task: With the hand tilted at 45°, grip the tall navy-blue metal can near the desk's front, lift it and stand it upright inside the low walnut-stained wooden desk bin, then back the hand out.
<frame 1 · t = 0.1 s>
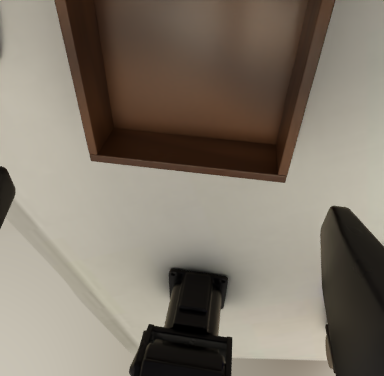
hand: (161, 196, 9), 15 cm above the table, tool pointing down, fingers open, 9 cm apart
desk bin: (196, 50, 21), on the table
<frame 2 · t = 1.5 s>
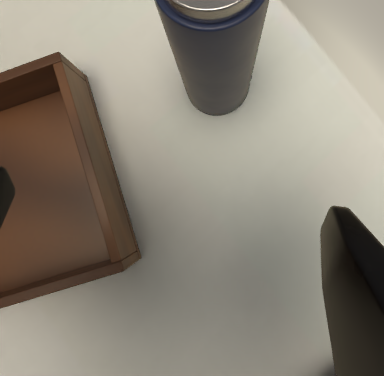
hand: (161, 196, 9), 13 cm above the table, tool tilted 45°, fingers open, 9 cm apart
can: (217, 84, 23), on the table
desk bin: (26, 194, 24), on the table
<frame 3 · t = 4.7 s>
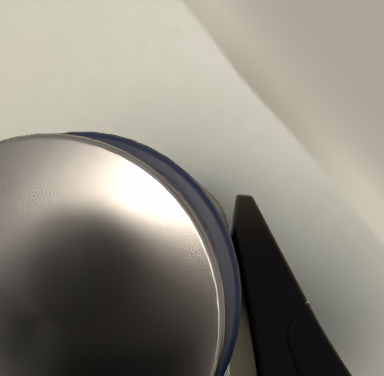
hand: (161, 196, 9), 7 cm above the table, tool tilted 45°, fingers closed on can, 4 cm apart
can: (182, 229, 16), on the table, touching gripper
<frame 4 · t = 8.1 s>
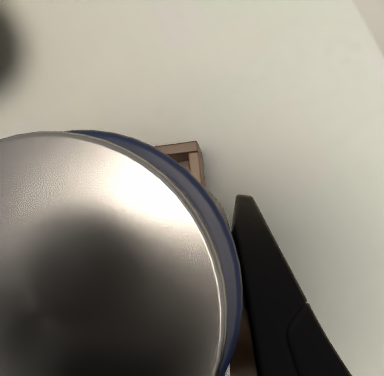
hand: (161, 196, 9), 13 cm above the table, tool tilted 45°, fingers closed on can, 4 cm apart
can: (183, 229, 16), point 7 cm above the table, touching gripper
desk bin: (117, 258, 23), on the table
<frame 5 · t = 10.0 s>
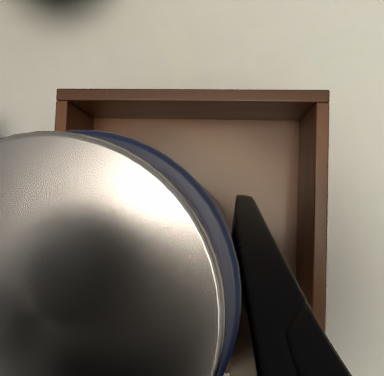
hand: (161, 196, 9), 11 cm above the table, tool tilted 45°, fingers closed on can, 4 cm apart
can: (182, 229, 16), point 4 cm above the table, touching gripper
desk bin: (190, 222, 20), on the table
when the fingers open (7 cm above the table, at t = 11.4 s): can stays where it is, resting on desk bin.
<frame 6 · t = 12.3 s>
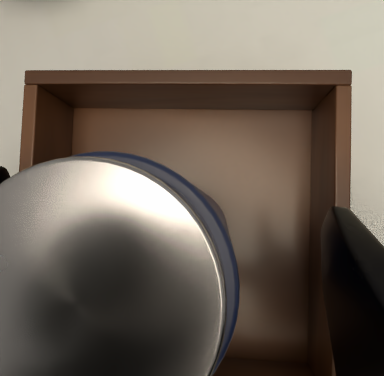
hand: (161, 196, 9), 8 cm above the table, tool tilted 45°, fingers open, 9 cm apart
can: (184, 231, 17), resting on desk bin
desk bin: (185, 228, 17), on the table
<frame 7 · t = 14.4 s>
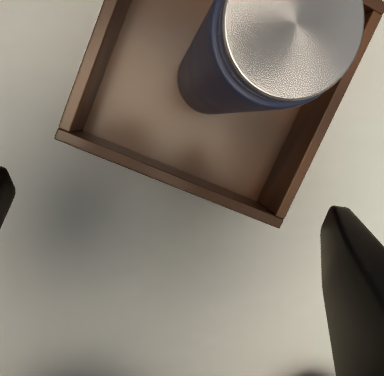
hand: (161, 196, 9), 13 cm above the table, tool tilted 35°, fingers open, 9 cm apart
can: (211, 79, 21), resting on desk bin
desk bin: (210, 79, 21), on the table
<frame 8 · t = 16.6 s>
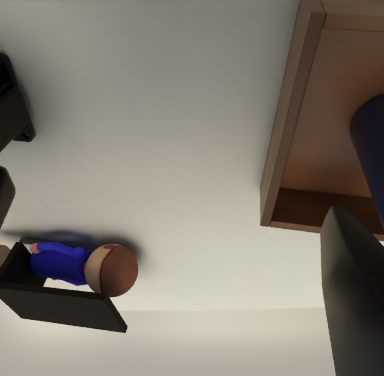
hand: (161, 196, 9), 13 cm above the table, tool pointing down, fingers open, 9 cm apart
figurine character: (74, 247, 35), on the table
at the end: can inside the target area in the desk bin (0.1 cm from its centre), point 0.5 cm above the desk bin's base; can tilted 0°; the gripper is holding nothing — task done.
